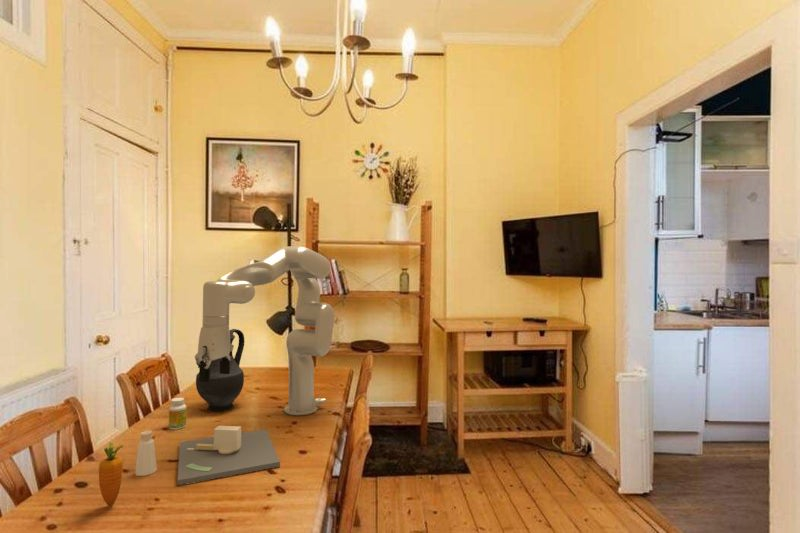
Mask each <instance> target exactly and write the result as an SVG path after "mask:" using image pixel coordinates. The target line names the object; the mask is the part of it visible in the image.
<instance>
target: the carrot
mask: <svg viewBox="0 0 800 533" xmlns="http://www.w3.org/2000/svg"><path fill="white" fill-rule="evenodd" d="M108 446H109V447H108ZM108 446H105V447H104V449H103V451H104V453H105V455H106V456H107V457H106V458H104V459H102V460H100V462H99V465H98V483H99V490H100V493H101V496H102V500H103V501H104V503H105V504H106V505H107V506H108V507H110V506H111V507H112V506H113V505H114V504H115V502H116V500H117V498H118V496H119V493H120V490H121V484H122V479H123V469H124V468H123V467H124V466H123V465H124V464H123V463H124V462H123V460H124V459H123V458H122V457H120V456H116V454H117V453H118V452H119V450H120V449H121V448H123V445H122V444H120V445H119V446H117V447H116V448H115V450H114V442H110V443H109V445H108Z"/></svg>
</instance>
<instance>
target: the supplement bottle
mask: <svg viewBox="0 0 800 533" xmlns="http://www.w3.org/2000/svg"><path fill="white" fill-rule="evenodd" d="M170 402H171V405H170V406H169V408H168V429H170V430H172V431H173V430H174V431H175V430H181V428H182V429H184V428H185V427H186V426H187V405H186V404H185V398H184V397H174V398H172V399H171V401H170Z"/></svg>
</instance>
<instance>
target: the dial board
mask: <svg viewBox="0 0 800 533" xmlns="http://www.w3.org/2000/svg"><path fill="white" fill-rule="evenodd" d="M197 444H214V436H212V437H205V438H197V439H191V440H190V439H189V440H184V441H183V440H182V441H179V449H178V463H177V464H178V465H177V466H178V468H177V484H176V485H181V486H184V485H183V484H186V485H188V484H187V483H191V484H194V483H193V482H197V483H199V482H198V481H202V482H204V481H203V480H207V481H209V480H208V479H213V478H218V479H220V478H219V477H223V478H226V477H225V476H229V477H231V476H230V475H234V476H237V475H236V474H239V475H243V474H242V473H245V474H248V473H247V472H250V473H253V472H252V471H256V472H259V471H258V470H261V471H264V470H263V469H266V470H270V469H269V468H272V469H275V468H274V467H277V468H280V467H281V461H280V458H279V456H278V454H277V452H276V450H275V447H274V444H273V442H272V440H271V438H270V435H269V433H268V431H267V429H259V430H251V431H246V432H241V447H240V448H239V449H238V450H237V451H235V452H233V453H231V454H220V453H219V452H218V450H199V449H196V445H197ZM213 480H214V479H213Z"/></svg>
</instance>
